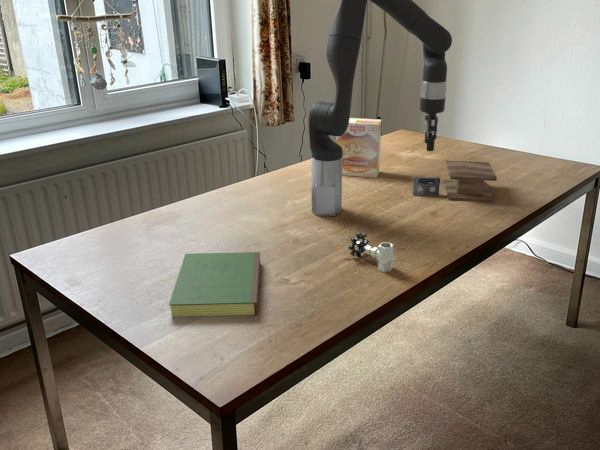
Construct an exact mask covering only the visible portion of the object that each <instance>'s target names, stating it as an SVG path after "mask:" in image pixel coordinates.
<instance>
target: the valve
mask: <svg viewBox="0 0 600 450" xmlns="http://www.w3.org/2000/svg"><path fill="white" fill-rule="evenodd" d="M355 236H356V237H354V236H352V237H351V238H350V242H351V244H349V245H348V247H347V249H349V250H350V256H352V257H355V256H356V257H361V255H362V254H363V253H364V252H365V253H368V254H370V255H371V258H372V259H375V260H377V262H378V263H377V271H381V272H383V273H386V272H391V271H392V270H393V265H394V260H395V254H394V250H395V249H394V248H395V245H394V244H393V243H392V242H388V241H385V242H384V241H383V242H380V243H379V244H378V246H375V247H373V246H370V245H368V244H369V242H370V241H369V240H368V239H366V238H367V236H368V234H367V233H365V232H363V233H361V232H356V233H355ZM360 239H361V241H359V240H360ZM356 248H357V249H356Z"/></svg>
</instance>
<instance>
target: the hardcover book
mask: <svg viewBox="0 0 600 450" xmlns="http://www.w3.org/2000/svg"><path fill="white" fill-rule="evenodd" d="M260 272H261V252H260V251H258V252H257V251H254V252H251V251H248V252H247V251H246V252H208V253H207V252H205V253H204V252H201V253H199V252H198V253H197V252H196V253H185V254H184V257H183V259H182V263H181V266H180V270H179V273H178V276H177V279H176V282H175V285H174V288H173V291H172V294H171V296H170V297H171V298H170V300H169V304H168V306H170V311H171V313H170V314H171V317H172V318H174V317H175V318H176V317H209V316H211V317H212V316H215V317H216V316H219V317H220V316H248V315H249V316H250V315H251V316H253V315H254V316H258V304H259V291H260V290H259V288H260Z"/></svg>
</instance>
